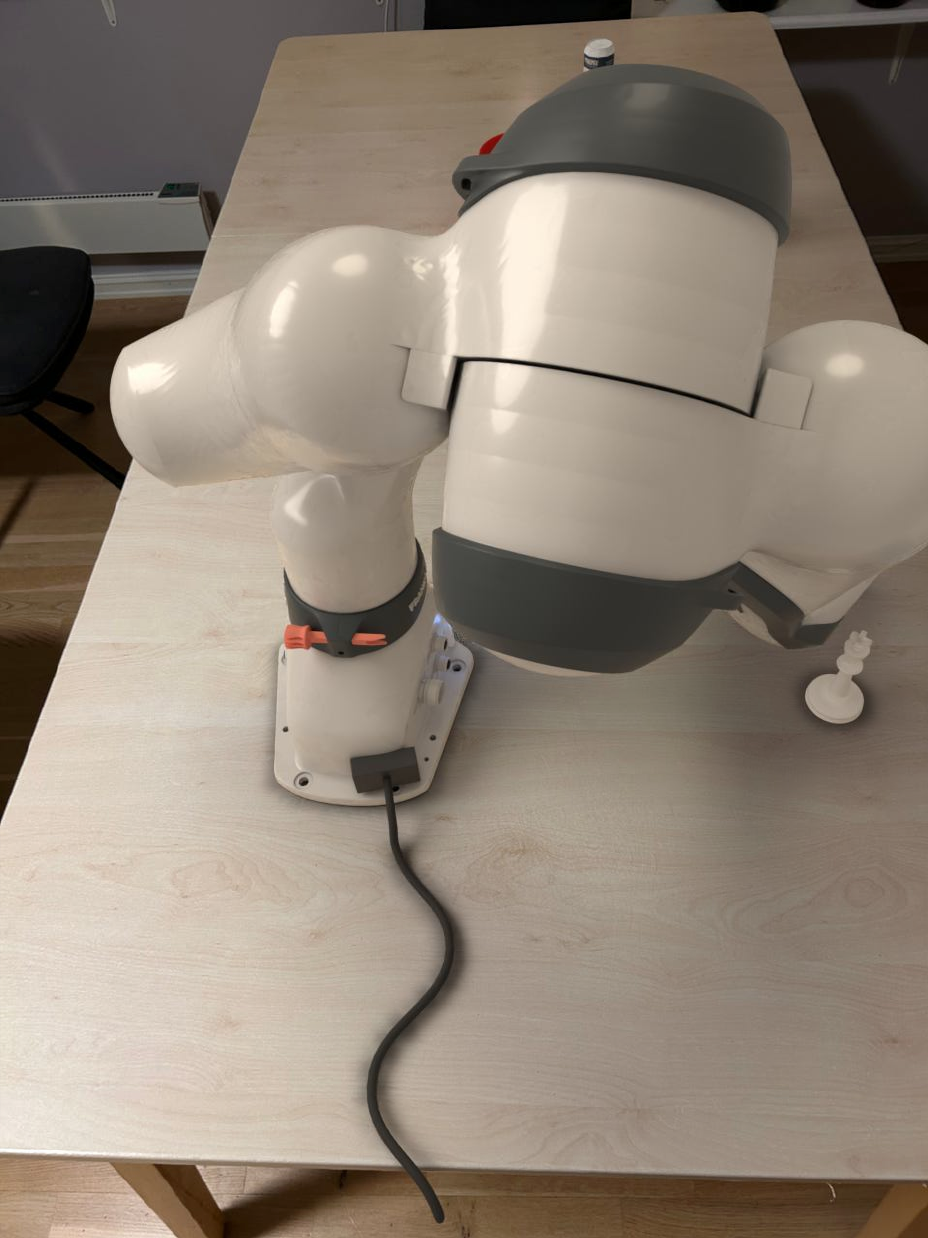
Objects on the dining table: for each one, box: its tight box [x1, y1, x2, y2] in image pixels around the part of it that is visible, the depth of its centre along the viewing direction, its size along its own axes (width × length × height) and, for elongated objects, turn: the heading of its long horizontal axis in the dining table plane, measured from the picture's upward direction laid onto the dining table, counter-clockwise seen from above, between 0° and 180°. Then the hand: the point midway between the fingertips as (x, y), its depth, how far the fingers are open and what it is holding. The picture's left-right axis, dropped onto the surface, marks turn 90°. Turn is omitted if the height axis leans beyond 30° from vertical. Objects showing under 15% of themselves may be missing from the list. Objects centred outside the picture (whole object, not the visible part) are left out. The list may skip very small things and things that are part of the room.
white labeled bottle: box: [583, 38, 616, 72], centre depth 149 cm, size 5×5×12 cm
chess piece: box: [804, 629, 874, 725], centre depth 79 cm, size 5×5×10 cm
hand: (803, 458), depth 90 cm, fingers open, 8 cm apart
